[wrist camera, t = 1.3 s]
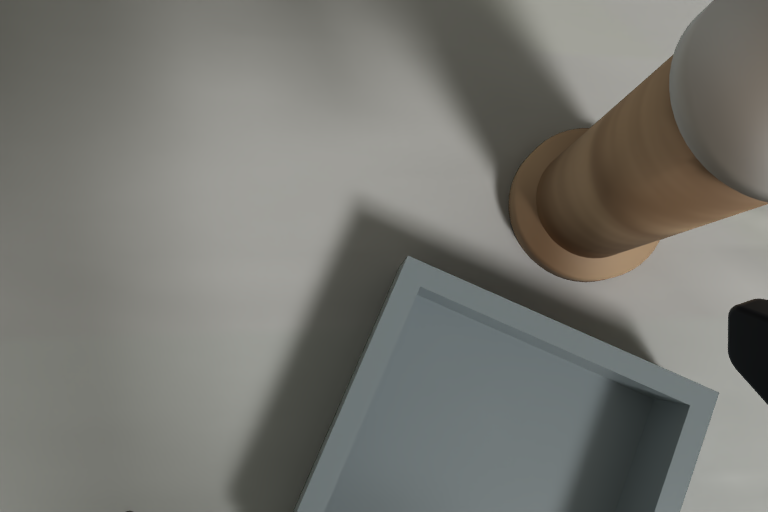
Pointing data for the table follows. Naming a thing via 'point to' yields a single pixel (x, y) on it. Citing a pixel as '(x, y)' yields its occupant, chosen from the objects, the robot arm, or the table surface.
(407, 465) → the slate tray
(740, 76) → the wooden dome-topped cylinder
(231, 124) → the table surface
